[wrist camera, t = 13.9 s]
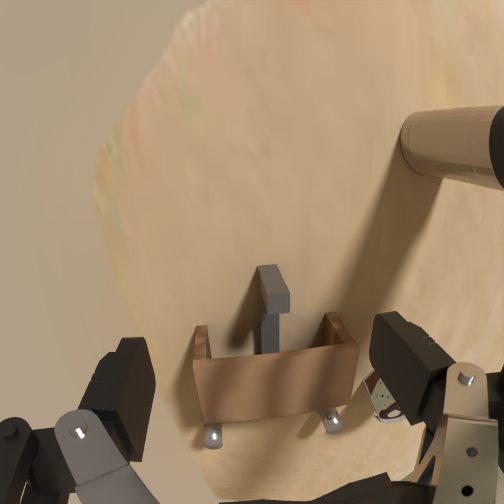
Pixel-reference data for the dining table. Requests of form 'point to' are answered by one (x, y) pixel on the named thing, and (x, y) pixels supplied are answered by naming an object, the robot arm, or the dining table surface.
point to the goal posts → (215, 429)
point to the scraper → (271, 306)
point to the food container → (382, 400)
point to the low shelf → (276, 378)
